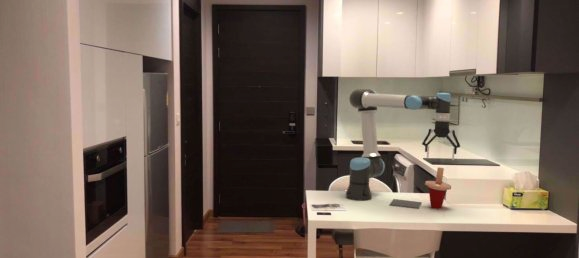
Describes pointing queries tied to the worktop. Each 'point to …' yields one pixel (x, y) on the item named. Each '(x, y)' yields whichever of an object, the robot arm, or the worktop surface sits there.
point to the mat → (405, 203)
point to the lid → (438, 181)
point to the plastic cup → (436, 197)
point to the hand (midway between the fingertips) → (440, 158)
